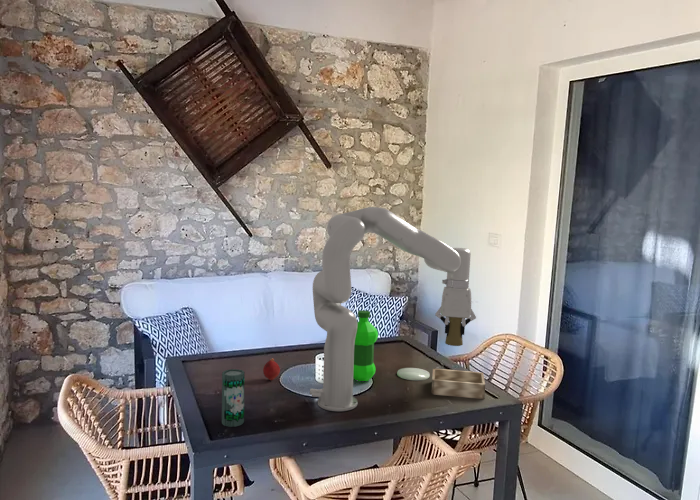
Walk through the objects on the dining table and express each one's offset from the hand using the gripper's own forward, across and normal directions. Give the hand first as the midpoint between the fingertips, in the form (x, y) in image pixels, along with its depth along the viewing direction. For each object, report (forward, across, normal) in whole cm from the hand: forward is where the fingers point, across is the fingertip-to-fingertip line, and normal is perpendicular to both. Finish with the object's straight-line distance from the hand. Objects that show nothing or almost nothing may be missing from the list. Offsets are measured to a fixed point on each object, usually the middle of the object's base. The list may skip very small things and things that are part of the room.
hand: (454, 335), depth 201 cm
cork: (+3, 0, 0) cm, 3 cm away
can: (+20, -62, -46) cm, 80 cm away
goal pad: (+19, -14, +11) cm, 26 cm away
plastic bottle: (+19, -32, 0) cm, 37 cm away
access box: (+19, +2, -1) cm, 19 cm away
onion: (+20, -63, -9) cm, 66 cm away
